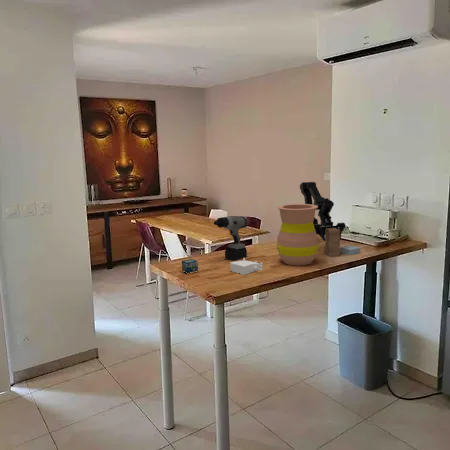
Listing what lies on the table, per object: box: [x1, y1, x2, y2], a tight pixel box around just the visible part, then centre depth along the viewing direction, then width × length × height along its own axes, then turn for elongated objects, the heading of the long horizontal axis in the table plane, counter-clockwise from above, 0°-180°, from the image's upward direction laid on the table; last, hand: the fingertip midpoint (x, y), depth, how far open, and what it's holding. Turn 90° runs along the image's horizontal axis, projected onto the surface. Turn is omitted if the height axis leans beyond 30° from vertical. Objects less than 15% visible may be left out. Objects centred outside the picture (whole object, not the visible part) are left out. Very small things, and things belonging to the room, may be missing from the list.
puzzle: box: [181, 258, 199, 273], centre depth 218 cm, size 6×6×6 cm
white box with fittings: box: [229, 257, 264, 276], centre depth 218 cm, size 8×20×16 cm
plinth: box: [340, 244, 361, 256], centre depth 245 cm, size 8×8×3 cm
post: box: [324, 228, 341, 258], centre depth 239 cm, size 6×6×15 cm
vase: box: [276, 203, 319, 266], centre depth 228 cm, size 22×22×30 cm
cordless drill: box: [213, 215, 248, 262], centre depth 237 cm, size 8×24×25 cm, turn 137°
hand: (332, 240), depth 239 cm, fingers open, 9 cm apart
